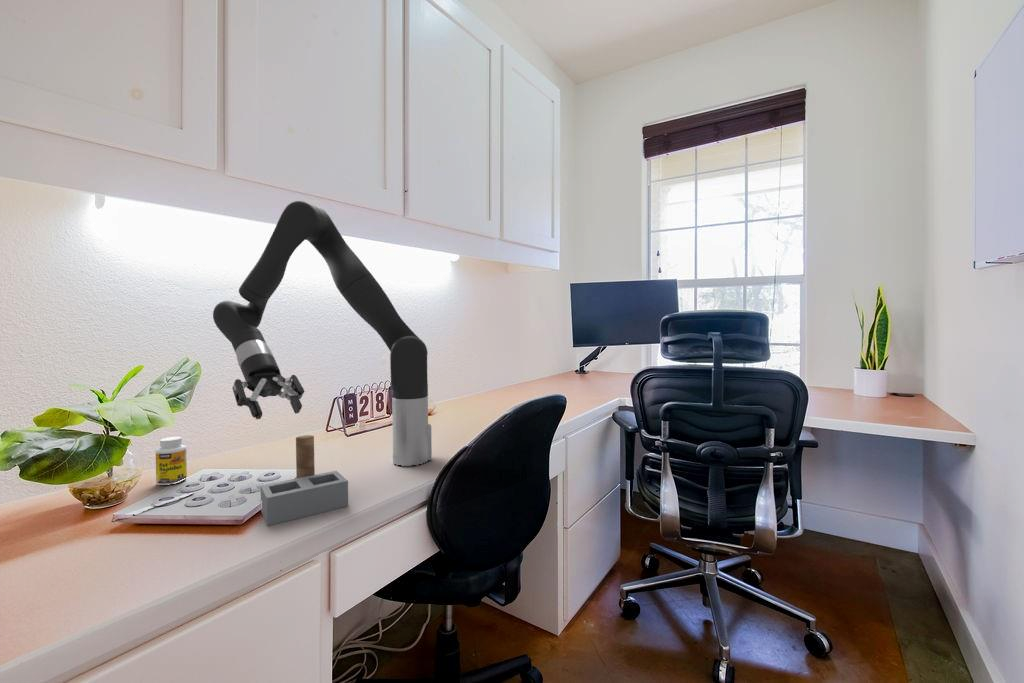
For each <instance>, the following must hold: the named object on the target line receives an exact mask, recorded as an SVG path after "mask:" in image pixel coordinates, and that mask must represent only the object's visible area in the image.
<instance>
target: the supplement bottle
mask: <svg viewBox="0 0 1024 683" xmlns="http://www.w3.org/2000/svg"><path fill="white" fill-rule="evenodd" d="M187 458H188V457H187V446H186V445H184V444H183V437H181V436H173V437H171V436H170V437H164V438H162V439H160V440H159V447H158V448H156V450H155V481H156V482H155V483H156V485H157V486H159V485H168V484H173V483H175V482H178V481H180V480H182V479H184V478H186V477H188V475H187V474H188V473H187V472H188V470H187V469H188V468H187V464H188V463H187ZM186 479H187V478H186Z"/></svg>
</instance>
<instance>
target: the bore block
mask: <svg viewBox="0 0 1024 683" xmlns="http://www.w3.org/2000/svg"><path fill="white" fill-rule="evenodd" d="M261 500H262V509H261V508H260V512H261V515H262V517H263V519H264V522H265V524H266V526H267V527H269V526H273V525H277V524H281V523H285V522H288V521H293V520H297V519H300V518H305V517H309V516H313V515H318V514H321V513H325V512H330V511H333V510H337V509H342V508H345V507H349V481H348V479H347V478H345V477H344V476H343V475H342V474H341V473H340V472H339V471H338V470H333V471H328V472H321V473H317V474H315V475H312V476H306V477H301V478H297V477H296V478H292V479H286V480H281V481H276V482H272V483H266V484H260V501H261Z"/></svg>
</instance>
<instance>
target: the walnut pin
mask: <svg viewBox="0 0 1024 683" xmlns="http://www.w3.org/2000/svg"><path fill="white" fill-rule="evenodd" d="M295 460H296V461H295V462H296V467H295V469H296V471H295V472H296V473H295V474H296V475H295V476H296V478H301V477H306V476H312V475H316V472H315V435H312V434H309V435H308V434H305V435H304V434H303V435H300V436H297V437H295Z"/></svg>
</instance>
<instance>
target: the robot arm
mask: <svg viewBox="0 0 1024 683" xmlns="http://www.w3.org/2000/svg"><path fill="white" fill-rule="evenodd" d="M275 225H276V226H275V227H274V229H273V232H272V234H271V236H270V237H269V240H268V242H267V244H266V246H265V248H264V250H263V252H262V254H261V255H260V257H259V259H258V260H257V262H256V263H255V265H254V266H253V267H252V269H251V270H250V272H249V273H248V275H246V276H247V277H245V279H244V280H243V282H242V283H241V285H240V287H239V288H238V293H239V295H240V297H241V298H242V299H244V300H245V301H247V302H249V303H248V304H244V303H239V302H236V301H232V300H223V301H220V302H218V303H217V304H216V305H215V307H214V308H213V311H212V318H213V322H214V324H215V326H216V328H218V330H219V331H220V332H221V334H223V336H224V337H225V338H226V339H227V340H228V341H229V342H230V343H231V346H232V347H233V350H234V353H235V356H236V360H237V363H238V364H237V365H238V367H239V369H240V370H241V373H242V375H243V377H244V380H245V381H242V380H241V379H239V378H237V379H235V380H234V382H233V384H232V387H231V388H232V391H233V394H234V398H235V403H236V405H237V406H238V407H243V406H246V407H247V408H248V410H249V411H250V412H249V413H250V414H251V416H252V417H253V418H255V420H261V418H262V416H263V411H262V408H261V406H260V404H259V401H258V399H259V397H262V398H268V397H276V396H278V397H280V398H281V399H286V400H288V401H289V403H290V406H291V408H292V410H293V412H294V414H299V413H300V412H301V410H302V408H303V404H302V402H301V399H302V398H303V395H304V393H305V390H304V387H303V386H302V384H301V382H300V380H299V378H298V377H297V375H295V374H292V375H290V377H284V376H283V375H282V373H281V370H280V368H279V365H278V363H277V362H276V359H275V356H274V354H273V353H272V350H271V349H270V347H269V345H268V344H267V342H266V339H265V338H264V335H263V334H262V331H261V330H260V329H259V328H258V327H259V326H260V324H261V322H262V318H263V315H264V312H265V310H266V306H267V303H268V302H269V300H270V299H271V297H272V296H273V294H274V293H275V291H276V290H277V289H278V288H279V286H280V285H281V283H282V281H283V279H284V276H285V274H286V273H285V272H286V269H287V266H288V264H289V262H290V259H291V256H292V255H293V253H294V252H295V251H296V250H297V248H298V247H299V246H300V245H301V244H302V243H303V242H304V241H308V242H309V243H310V244H311V245H312V246H313V247H314V249H315V250H316V251H317V252H318V253H319V255H321V257H322V258H323V260H324V261H325V263H326V264H327V266H328V270H329V272H330V275H331V277H332V281H333V282H334V284H335V287H336V289H337V290H338V292H339V293H340V294H341V296H342V297H343V298H344V299H345V301H346V302H347V303H348V305H349V306H350V307H351V308H352V309H353V311H355V313H357V315H359V317H360V318H361V319H362V320H363V321H364V322H365V323H367V324H368V325H369V327H371V328H372V329H373V330H374V331H376V333H377V334H378V335H379V337H380V338H381V339H382V340H383V342H384V344H385V345H386V346H387V348H388V350H389V351H390V355H389V356H390V357H389V359H390V360H389V364H390V366H389V367H390V368H389V370H390V387H391V402H392V403H391V404H392V405H391V406H392V407H391V408H392V409H391V410H392V412H391V414H392V416H391V417H392V419H391V420H392V463H393V464H394V465H395V464H396V465H395V466H398V465H401V466H400V467H413V466H412V465H416V466H420V465H419V464H421V465H424V464H425V462H426V463H428V462H429V461H428V460H431V459H433V458H432V456H433V452H432V451H433V450H432V448H433V447H432V444H433V442H432V425H431V423H429V384H428V380H429V379H428V355H429V354H428V353H429V352H428V347H427V345H426V344H425V342H424V341H423V340H422V339H421V338H420V337H419V336H418V335H416V333H415V332H414V331H413V330H412V329H411V328H410V327H409V326H408V325H407V324H406V323H405V321H404V320H403V318H401V316H400V314H399V313H398V312H397V310H396V308H395V306H394V305H393V303H392V301H391V300H390V298H389V296H388V295H387V294H386V292H385V290H384V289H383V288H382V286H381V284H379V282H378V281H377V280H376V278H375V276H374V275H373V274H372V273H371V272H370V271H369V269H368V268H367V267H366V265H364V263H363V262H362V260H361V259H360V258H359V257H358V256H357V254H356V253H355V252H354V251H353V250H352V248H351V247H350V246H349V245H348V243H347V242H346V241H345V239H344V238H343V236H342V234H341V233H340V231H339V230H338V227H337V226H336V225H335V223H334V221H333V219H332V217H331V216H330V215H329V213H327V211H326V210H325V209H323V208H322V207H321V206H319V205H317V204H314V203H310V202H308V201H305V200H294V201H292V202H290V203H289V204H287V205H286V206H285V207H284V209H283V210H282V213H281V214H280V216H279V218H278V221H277V223H276V224H275ZM245 389H248V390H249V391H251V392H252V394H251V395H250V397H247V395H246V391H245ZM282 389H283V391H282ZM427 461H428V462H427ZM431 461H432V460H431ZM423 463H424V464H423Z"/></svg>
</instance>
